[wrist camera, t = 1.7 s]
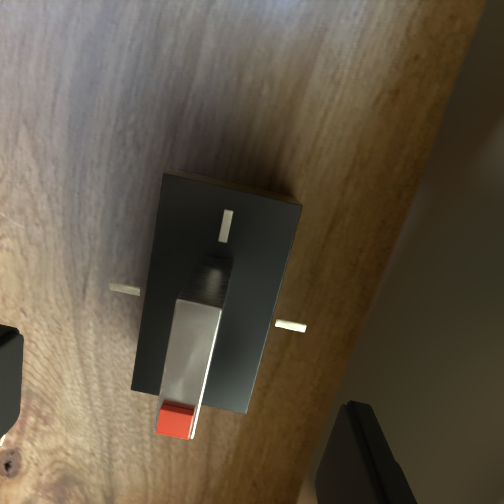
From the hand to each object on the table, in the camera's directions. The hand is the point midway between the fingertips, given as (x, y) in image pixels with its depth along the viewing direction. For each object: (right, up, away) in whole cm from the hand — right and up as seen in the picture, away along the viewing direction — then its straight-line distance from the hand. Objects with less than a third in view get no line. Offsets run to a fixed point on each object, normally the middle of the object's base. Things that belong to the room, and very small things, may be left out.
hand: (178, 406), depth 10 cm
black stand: (0, +3, +9) cm, 9 cm away
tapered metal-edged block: (0, +2, +6) cm, 6 cm away
